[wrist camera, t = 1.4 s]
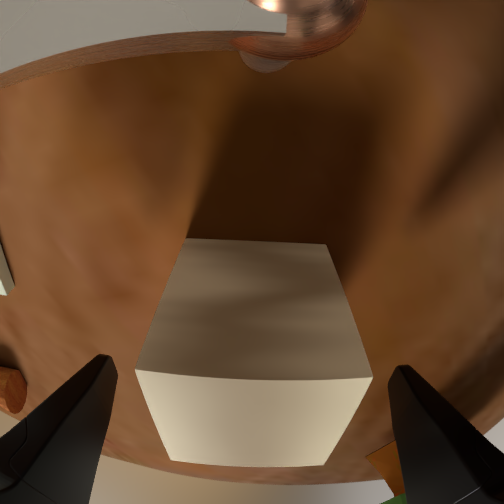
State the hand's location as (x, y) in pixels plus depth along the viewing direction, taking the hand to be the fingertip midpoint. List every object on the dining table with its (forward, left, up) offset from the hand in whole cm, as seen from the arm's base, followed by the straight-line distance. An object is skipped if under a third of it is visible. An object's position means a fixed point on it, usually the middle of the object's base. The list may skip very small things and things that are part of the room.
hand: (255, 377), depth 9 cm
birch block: (0, 0, -4) cm, 4 cm away
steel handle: (+8, -11, -4) cm, 14 cm away
